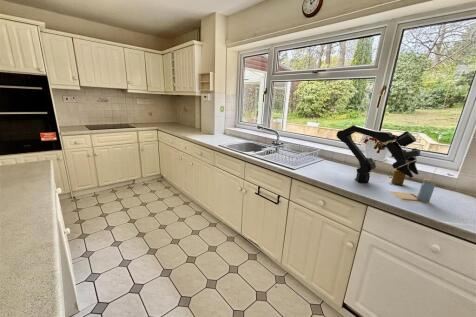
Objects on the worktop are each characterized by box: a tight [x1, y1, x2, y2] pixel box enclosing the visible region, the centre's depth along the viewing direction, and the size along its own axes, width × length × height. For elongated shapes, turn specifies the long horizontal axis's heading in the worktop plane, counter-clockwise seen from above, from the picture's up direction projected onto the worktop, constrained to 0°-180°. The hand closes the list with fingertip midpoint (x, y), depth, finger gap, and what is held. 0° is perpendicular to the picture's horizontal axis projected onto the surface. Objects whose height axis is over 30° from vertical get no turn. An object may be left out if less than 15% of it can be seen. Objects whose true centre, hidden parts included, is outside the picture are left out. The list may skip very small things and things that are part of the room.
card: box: [388, 190, 433, 205], centre depth 114 cm, size 15×13×1 cm
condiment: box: [389, 167, 408, 187], centre depth 131 cm, size 7×8×12 cm
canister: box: [417, 177, 437, 204], centre depth 108 cm, size 5×5×12 cm
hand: (414, 175), depth 111 cm, fingers open, 9 cm apart
